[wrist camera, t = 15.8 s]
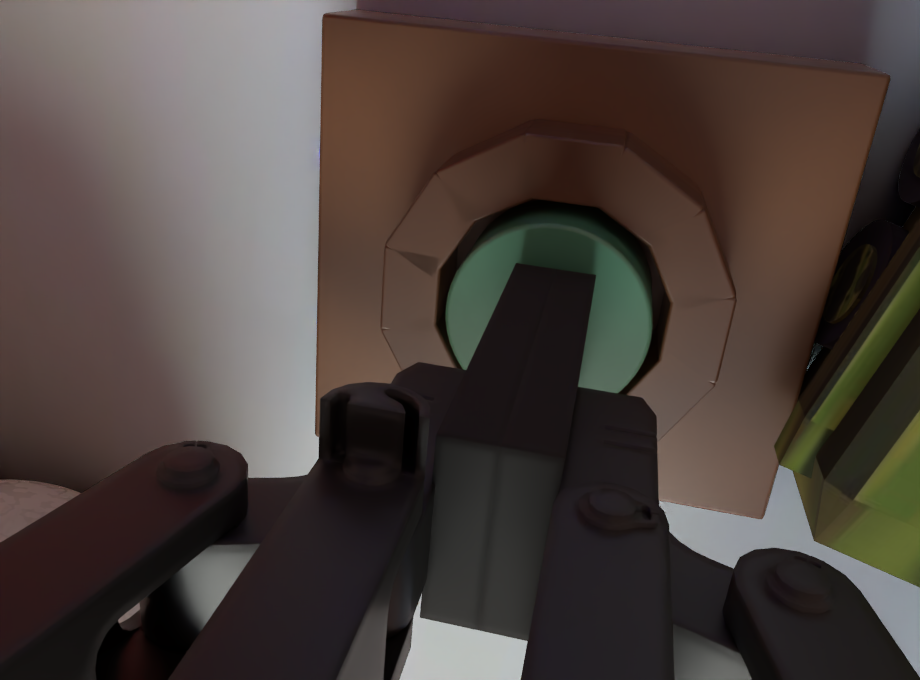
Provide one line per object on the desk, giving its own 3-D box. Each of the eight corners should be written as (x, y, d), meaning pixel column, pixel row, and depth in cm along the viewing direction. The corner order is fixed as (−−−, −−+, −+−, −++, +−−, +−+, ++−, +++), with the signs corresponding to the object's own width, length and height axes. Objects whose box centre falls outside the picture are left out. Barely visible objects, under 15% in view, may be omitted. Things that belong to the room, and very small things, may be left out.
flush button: (473, 184, 17) (453, 209, 15) (668, 211, 17) (671, 240, 15) (456, 357, 19) (436, 398, 17) (634, 387, 18) (633, 433, 17)
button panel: (355, 9, 19) (286, 16, 15) (864, 63, 17) (922, 85, 14) (341, 398, 23) (285, 476, 19) (752, 471, 21) (774, 571, 18)
